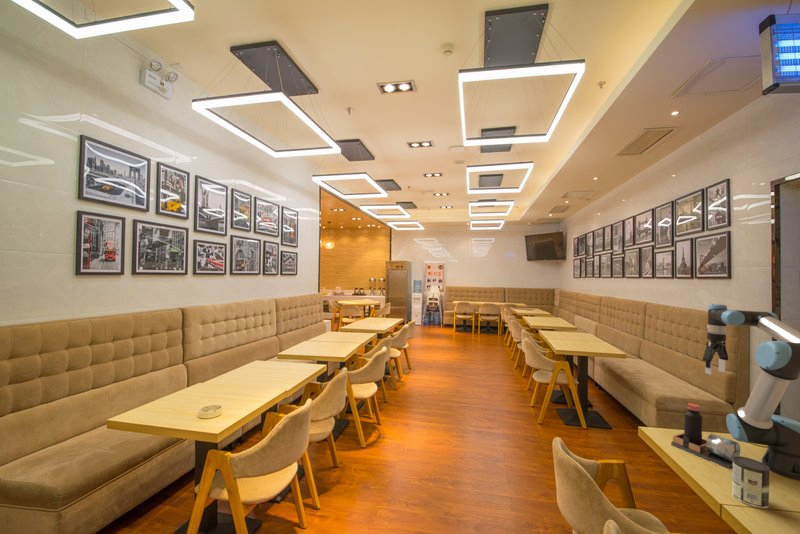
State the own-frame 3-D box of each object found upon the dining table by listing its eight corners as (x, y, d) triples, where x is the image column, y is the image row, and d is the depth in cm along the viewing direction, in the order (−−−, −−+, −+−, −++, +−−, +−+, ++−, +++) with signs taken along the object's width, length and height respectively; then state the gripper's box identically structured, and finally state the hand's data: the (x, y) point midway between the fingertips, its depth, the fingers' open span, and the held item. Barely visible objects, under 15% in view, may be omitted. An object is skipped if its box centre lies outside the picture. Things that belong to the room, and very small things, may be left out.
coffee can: (754, 493, 139) (755, 458, 139) (776, 511, 129) (778, 472, 129) (724, 489, 141) (725, 454, 141) (743, 506, 131) (745, 468, 131)
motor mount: (743, 463, 162) (744, 440, 163) (728, 469, 157) (729, 445, 157) (685, 440, 183) (686, 420, 183) (671, 444, 178) (672, 424, 178)
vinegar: (680, 443, 177) (682, 403, 177) (688, 441, 180) (689, 401, 180) (696, 449, 171) (698, 408, 171) (704, 447, 173) (705, 406, 174)
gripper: (720, 331, 197) (718, 368, 197) (695, 332, 187) (694, 372, 186) (737, 333, 190) (736, 372, 190) (712, 335, 180) (711, 376, 180)
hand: (715, 372), depth 188 cm, fingers open, 13 cm apart
